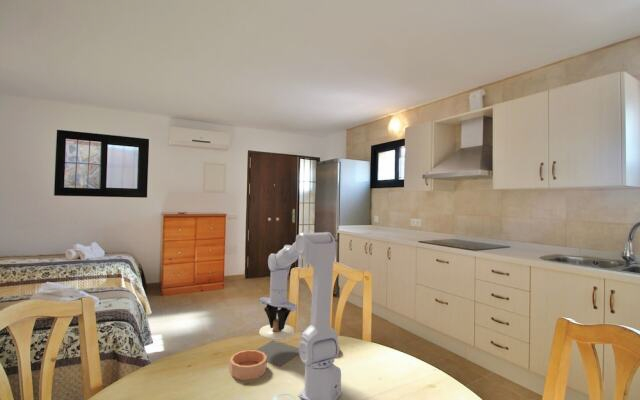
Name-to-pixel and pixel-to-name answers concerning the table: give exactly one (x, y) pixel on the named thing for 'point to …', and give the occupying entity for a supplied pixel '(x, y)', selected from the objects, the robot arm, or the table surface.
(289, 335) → the lid
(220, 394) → the table surface
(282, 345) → the mat
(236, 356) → the bowl
